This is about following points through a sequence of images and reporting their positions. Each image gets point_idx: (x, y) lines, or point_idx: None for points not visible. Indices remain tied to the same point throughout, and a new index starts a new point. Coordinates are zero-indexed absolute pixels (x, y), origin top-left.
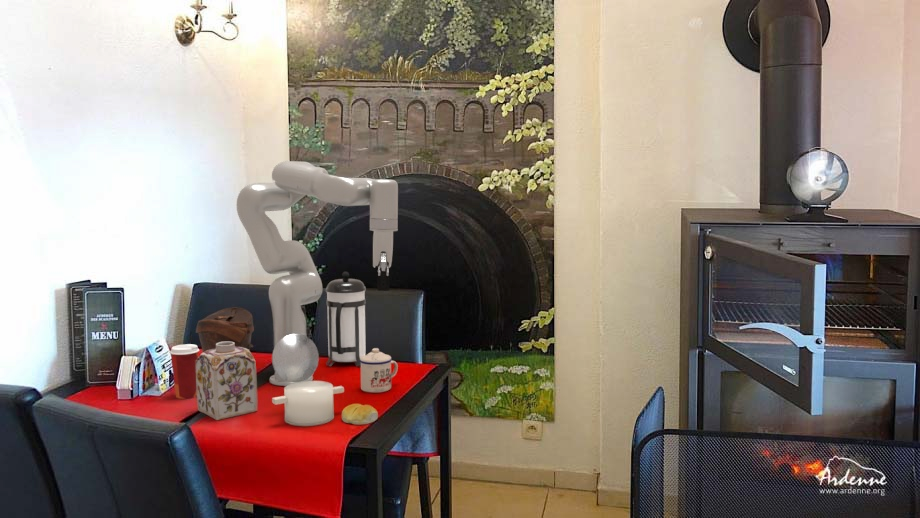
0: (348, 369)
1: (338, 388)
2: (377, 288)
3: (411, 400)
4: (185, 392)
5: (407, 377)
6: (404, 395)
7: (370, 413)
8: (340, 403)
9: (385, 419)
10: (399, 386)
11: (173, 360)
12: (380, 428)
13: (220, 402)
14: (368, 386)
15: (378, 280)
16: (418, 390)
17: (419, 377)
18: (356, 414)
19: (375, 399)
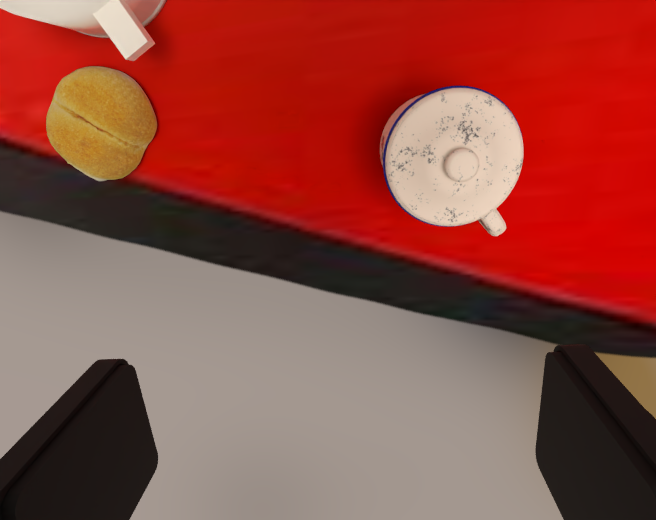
0: None
1: (112, 38)
2: (89, 369)
3: (294, 263)
4: None
5: (560, 245)
6: (346, 242)
7: (68, 163)
8: (262, 37)
9: (117, 199)
10: None
11: None
12: (43, 190)
13: None
14: (386, 126)
15: (24, 455)
16: (397, 281)
17: (551, 283)
18: (46, 121)
19: (306, 155)
